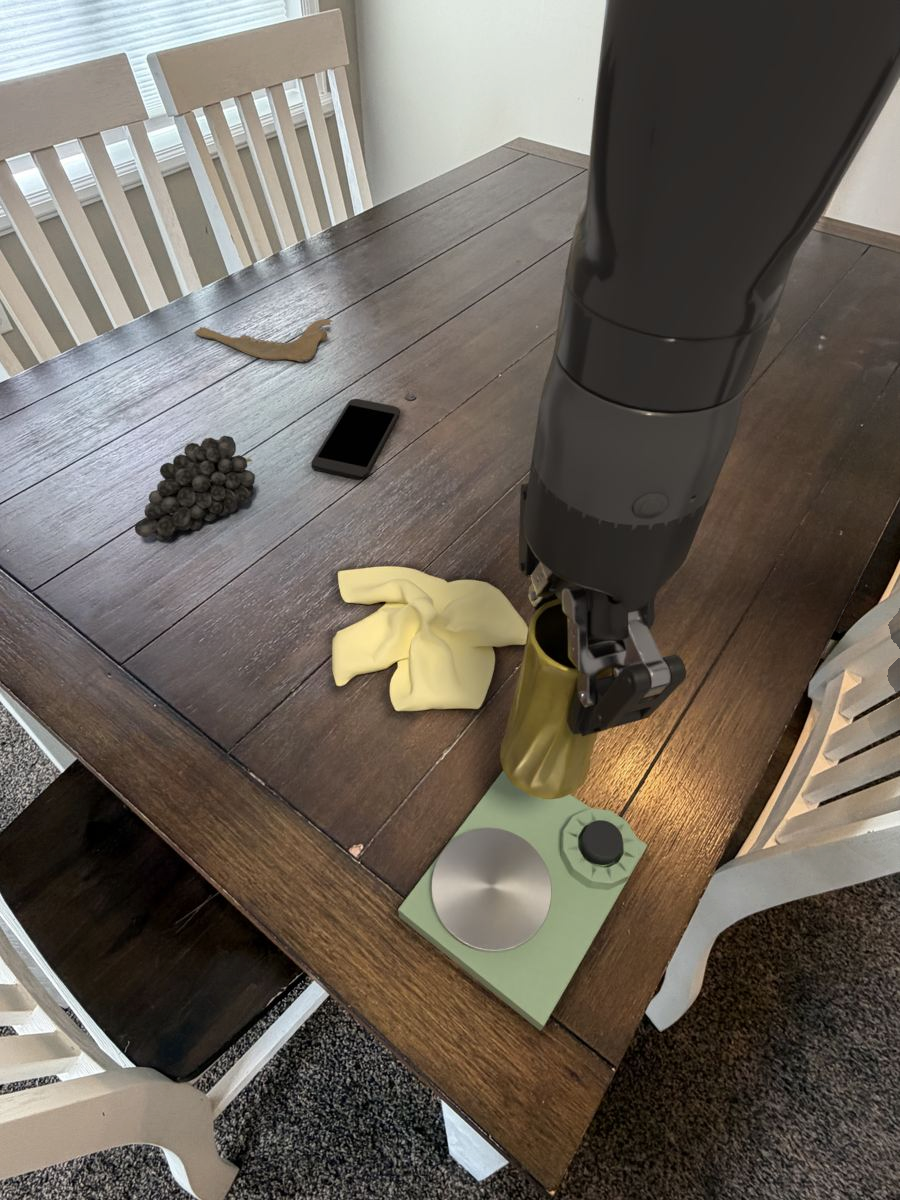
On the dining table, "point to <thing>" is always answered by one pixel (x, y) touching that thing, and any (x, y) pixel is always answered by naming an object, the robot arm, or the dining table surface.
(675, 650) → the dining table surface
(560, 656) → the vase
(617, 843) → the button
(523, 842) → the weighing plate
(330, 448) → the smartphone
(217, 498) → the fruit
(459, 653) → the cloth
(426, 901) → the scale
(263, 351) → the jawbone
